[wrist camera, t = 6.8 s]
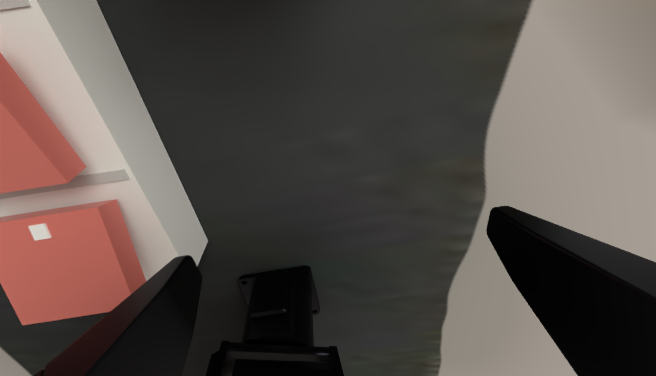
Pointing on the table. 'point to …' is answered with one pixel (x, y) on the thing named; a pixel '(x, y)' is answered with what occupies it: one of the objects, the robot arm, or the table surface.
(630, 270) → the robot arm
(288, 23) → the table surface
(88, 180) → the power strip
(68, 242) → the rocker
